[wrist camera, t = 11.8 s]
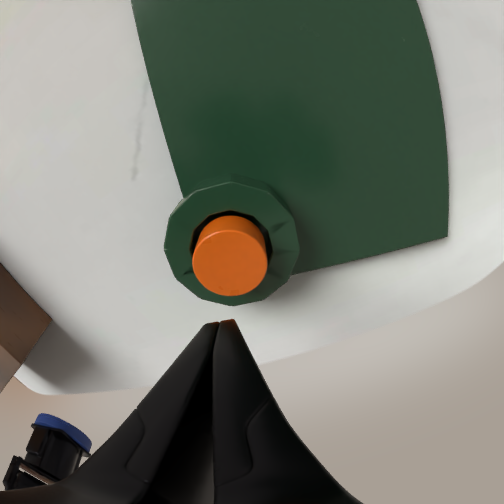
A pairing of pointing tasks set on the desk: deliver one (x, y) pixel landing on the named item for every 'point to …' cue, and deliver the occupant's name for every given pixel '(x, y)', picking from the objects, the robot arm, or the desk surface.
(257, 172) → the green flat plate
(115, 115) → the desk surface
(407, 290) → the desk surface
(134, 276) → the desk surface
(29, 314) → the panel
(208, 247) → the button
